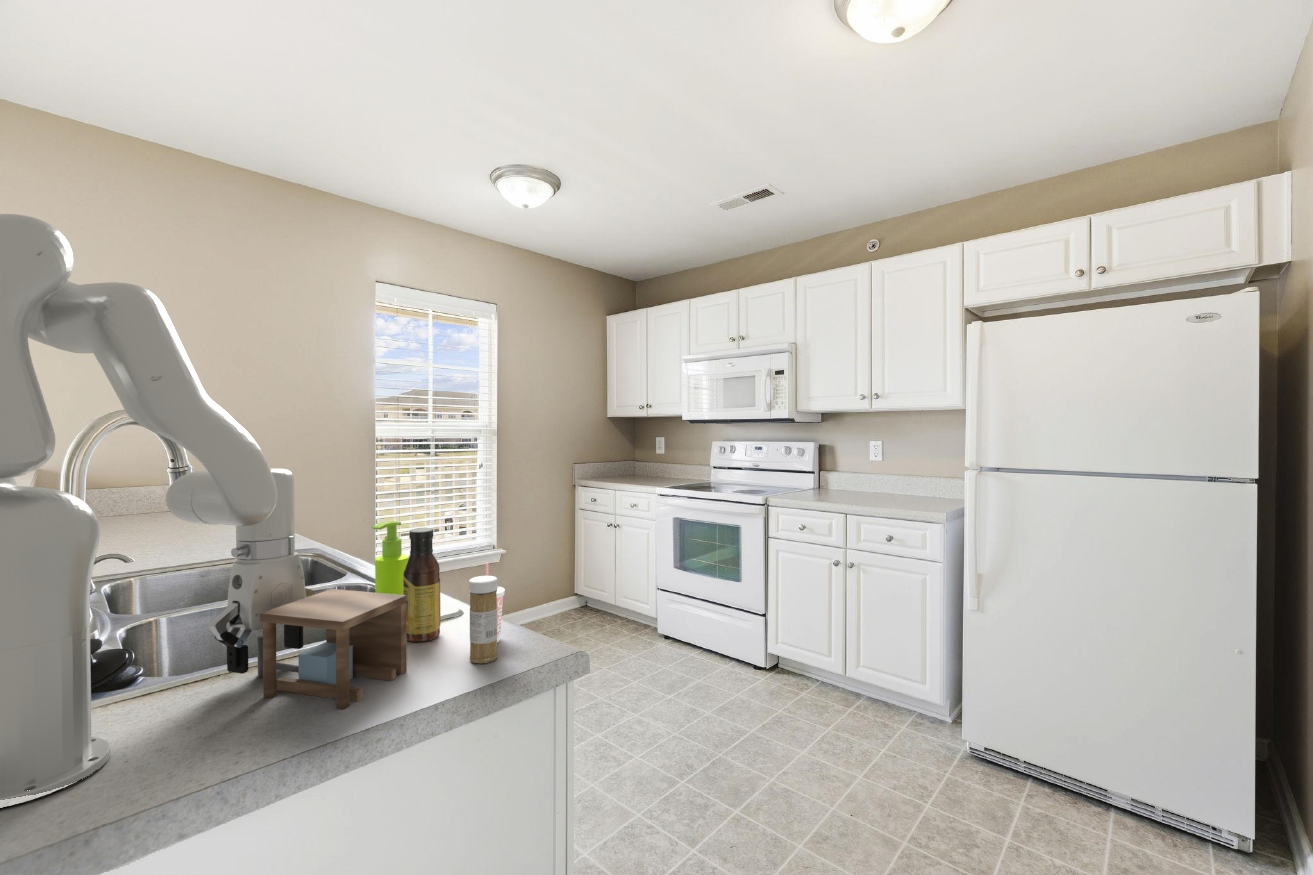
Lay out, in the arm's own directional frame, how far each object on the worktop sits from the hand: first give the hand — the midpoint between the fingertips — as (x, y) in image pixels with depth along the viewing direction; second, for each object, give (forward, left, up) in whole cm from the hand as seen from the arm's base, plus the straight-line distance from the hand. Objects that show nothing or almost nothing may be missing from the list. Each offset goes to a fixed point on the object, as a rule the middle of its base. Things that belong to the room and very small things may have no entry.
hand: (267, 659), depth 91 cm
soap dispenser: (+24, -3, -3) cm, 24 cm away
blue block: (0, -6, -2) cm, 7 cm away
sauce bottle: (+20, -13, -3) cm, 24 cm away
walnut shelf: (0, -13, -2) cm, 13 cm away
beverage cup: (+22, -25, -3) cm, 33 cm away
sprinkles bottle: (+14, -29, -3) cm, 32 cm away
